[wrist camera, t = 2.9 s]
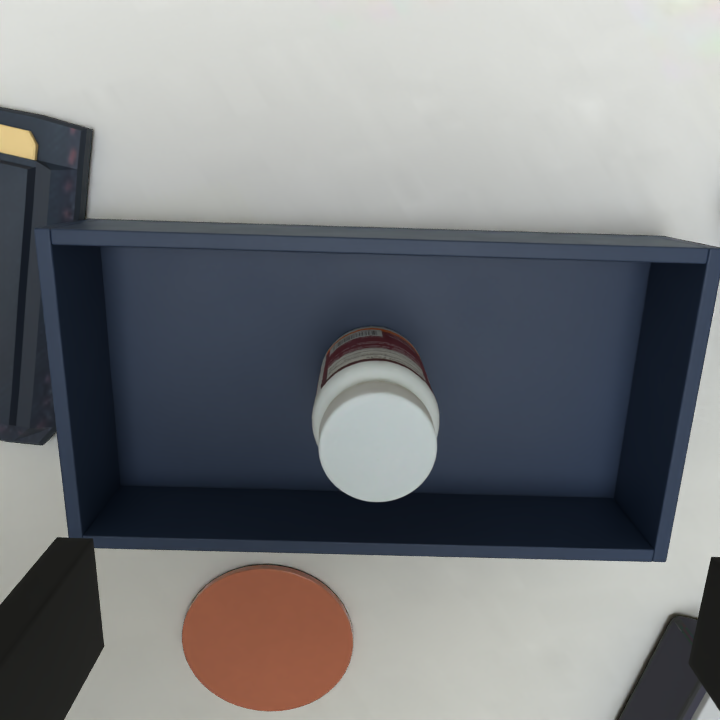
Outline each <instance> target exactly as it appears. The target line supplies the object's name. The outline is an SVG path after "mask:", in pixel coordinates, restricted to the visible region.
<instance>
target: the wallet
mask: <svg viewBox="0 0 720 720" xmlns="http://www.w3.org/2000/svg"><path fill="white" fill-rule="evenodd" d="M92 132H93V129H89V128H86V127H82V126H79V125H75V124H72V123H68V122H65V121H61V120H58V119H55V118H51V117H48V116H44V115H39V114H34V113H28V112H23V111H18V110H13V109H7V108H2V107H0V440H1V441H6V442H14V443H24V444H34V445H44V444H45V443H46V442H47V441H48V440H49V439H50V438H51V437H52V436H53V435H54V434H55V433H56V432H57V430H56V421H55V412H54V404H53V395H52V386H51V377H50V368H49V359H48V351H47V342H46V333H45V324H44V315H43V307H42V298H41V289H40V280H39V271H38V262H37V254H36V245H35V236H34V228H38V227H44V226H50V225H56V224H62V223H68V222H74V221H80V220H85V212H86V200H87V187H88V174H89V162H90V152H91V142H92Z"/></svg>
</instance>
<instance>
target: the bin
mask: <svg viewBox="0 0 720 720" xmlns="http://www.w3.org/2000/svg"><path fill="white" fill-rule="evenodd" d="M34 236H35V245H36V254H37V262H38V271H39V280H40V289H41V298H42V307H43V315H44V324H45V333H46V342H47V351H48V359H49V368H50V377H51V386H52V395H53V404H54V412H55V421H56V430H57V439H58V448H59V456H60V465H61V474H62V483H63V492H64V501H65V509H66V518H67V527H68V536H69V538H93V542H94V548H109V549H150V550H191V551H232V552H272V553H313V554H354V555H395V556H436V557H477V558H518V559H559V560H600V561H641V562H652V561H653V562H666V558H667V553H668V548H669V543H670V537H671V532H672V527H673V522H674V516H675V511H676V506H677V501H678V495H679V490H680V485H681V479H682V474H683V469H684V464H685V458H686V453H687V448H688V443H689V437H690V432H691V427H692V422H693V416H694V411H695V406H696V400H697V395H698V390H699V385H700V379H701V374H702V369H703V364H704V358H705V353H706V348H707V343H708V337H709V332H710V327H711V321H712V316H713V311H714V306H715V300H716V295H717V290H718V285H719V279H720V247H715V246H710V245H705V244H700V243H695V242H690V241H685V240H681V239H676V238H671V237H666V236H648V235H615V234H581V233H548V232H514V231H481V230H447V229H413V228H380V227H346V226H313V225H279V224H246V223H212V222H179V221H145V220H111V219H86V220H80V221H74V222H68V223H62V224H56V225H50V226H44V227H38V228H34ZM370 326H376V327H384V328H387V329H390V330H393V331H395V332H397V333H399V334H400V335H402V336H403V337H405V338H406V339H407V340H408V341H409V342H410V343H411V344H412V345H413V346H414V348H415V349H416V351H417V352H418V354H419V356H420V359H421V361H422V364H423V367H424V369H425V372H426V374H427V377H428V380H429V383H430V386H431V388H432V391H433V393H434V396H435V398H436V401H437V404H438V409H439V420H440V424H439V431H438V436H437V454H436V459H435V462H434V465H433V468H432V470H431V471H430V473H429V475H428V476H427V478H426V479H425V480H424V482H423V483H422V484H421V485H420V486H419V487H418V488H416V489H415V490H414V491H412V492H411V493H409V494H407V495H405V496H403V497H401V498H398V499H395V500H391V501H385V502H369V501H363V500H360V499H356V498H354V497H352V496H349V495H347V494H346V493H344V492H343V491H341V490H340V489H339V488H337V487H336V486H335V485H334V484H333V483H332V482H331V481H330V479H329V478H328V477H327V475H326V473H325V471H324V470H323V467H322V465H321V461H320V458H319V449H318V445H317V443H316V440H315V438H314V434H313V428H312V411H313V406H314V401H315V397H316V391H317V385H318V381H319V375H320V371H321V366H322V362H323V359H324V357H325V355H326V353H327V351H328V350H329V348H330V347H331V346H332V344H333V343H334V342H335V341H336V340H337V339H338V338H340V337H341V336H342V335H344V334H345V333H347V332H349V331H352V330H354V329H357V328H361V327H370Z"/></svg>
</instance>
